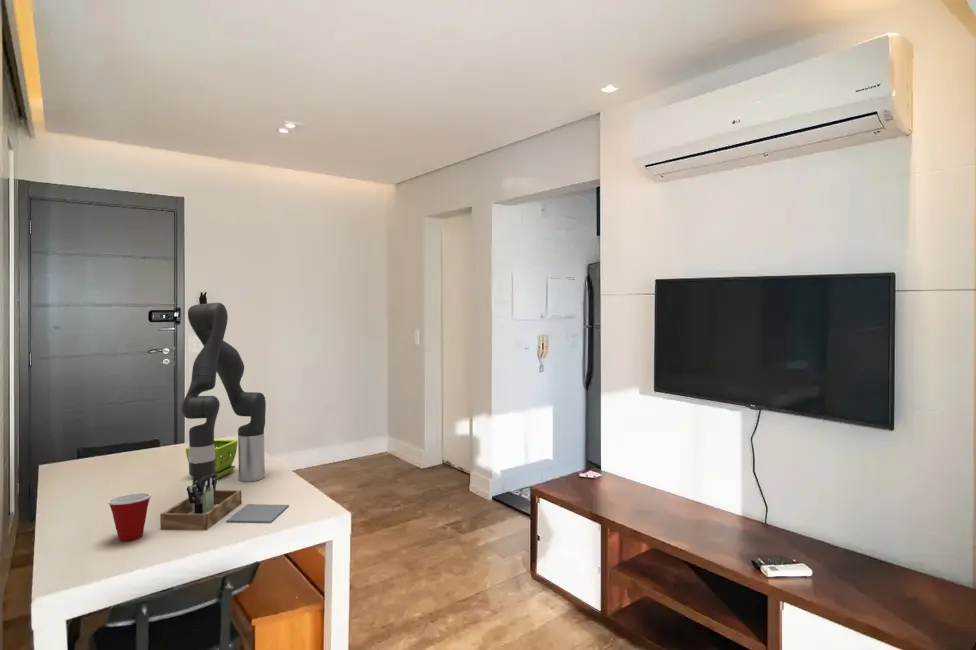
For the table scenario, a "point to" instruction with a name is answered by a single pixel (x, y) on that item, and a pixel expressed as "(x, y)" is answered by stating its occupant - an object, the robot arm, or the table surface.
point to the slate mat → (258, 513)
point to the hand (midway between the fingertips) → (203, 511)
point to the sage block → (206, 501)
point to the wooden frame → (184, 521)
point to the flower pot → (224, 450)
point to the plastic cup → (129, 515)
